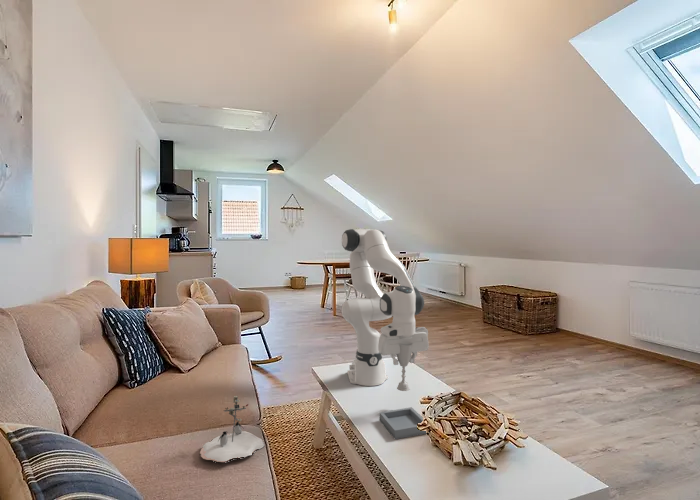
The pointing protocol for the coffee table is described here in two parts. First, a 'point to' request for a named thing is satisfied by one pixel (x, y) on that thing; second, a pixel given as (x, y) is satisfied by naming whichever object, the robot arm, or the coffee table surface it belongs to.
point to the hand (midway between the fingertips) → (403, 363)
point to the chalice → (404, 365)
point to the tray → (401, 422)
